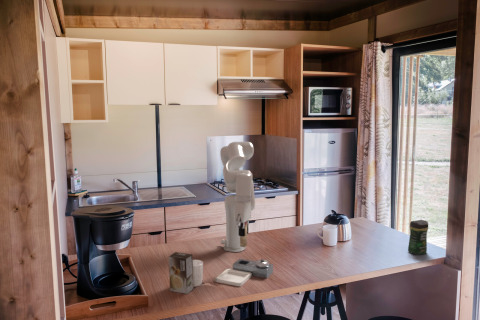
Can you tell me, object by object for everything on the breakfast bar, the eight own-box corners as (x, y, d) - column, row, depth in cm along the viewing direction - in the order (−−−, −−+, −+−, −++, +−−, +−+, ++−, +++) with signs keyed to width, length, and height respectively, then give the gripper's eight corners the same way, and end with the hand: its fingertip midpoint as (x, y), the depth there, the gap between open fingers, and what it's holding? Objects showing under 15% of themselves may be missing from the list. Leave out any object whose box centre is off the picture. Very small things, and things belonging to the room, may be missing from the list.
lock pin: (238, 246, 199) (238, 222, 197) (241, 244, 202) (241, 220, 200) (245, 247, 197) (245, 223, 196) (248, 245, 200) (248, 221, 199)
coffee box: (194, 288, 183) (193, 254, 181) (187, 294, 177) (186, 259, 175) (176, 285, 186) (175, 251, 184) (169, 291, 180) (168, 256, 178)
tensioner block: (232, 273, 199) (232, 258, 198) (239, 267, 206) (239, 252, 205) (267, 280, 191) (267, 264, 190) (273, 274, 198) (273, 258, 197)
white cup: (186, 280, 191) (186, 260, 190) (203, 279, 192) (203, 259, 191) (185, 287, 184) (185, 266, 182) (203, 286, 184) (203, 265, 183)
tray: (215, 283, 188) (215, 278, 187) (227, 273, 199) (227, 268, 199) (240, 288, 182) (240, 283, 182) (252, 277, 194) (252, 272, 194)
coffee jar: (416, 256, 222) (418, 223, 220) (405, 251, 229) (407, 219, 227) (429, 253, 226) (431, 221, 224) (417, 249, 233) (419, 217, 231)
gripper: (243, 194, 205) (243, 229, 208) (228, 201, 190) (229, 238, 193) (257, 195, 202) (257, 231, 204) (243, 202, 187) (243, 241, 190)
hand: (243, 234), depth 199 cm, fingers closed on lock pin, 3 cm apart
